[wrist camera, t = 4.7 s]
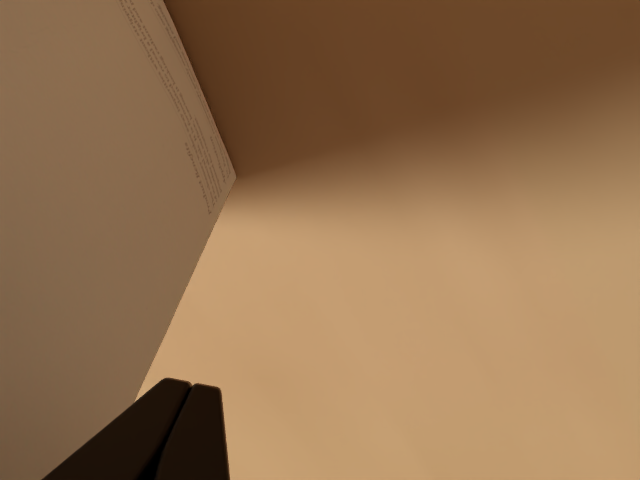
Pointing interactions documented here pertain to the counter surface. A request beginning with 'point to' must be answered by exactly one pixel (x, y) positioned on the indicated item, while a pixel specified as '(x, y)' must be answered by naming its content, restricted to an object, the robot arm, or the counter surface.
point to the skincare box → (93, 213)
